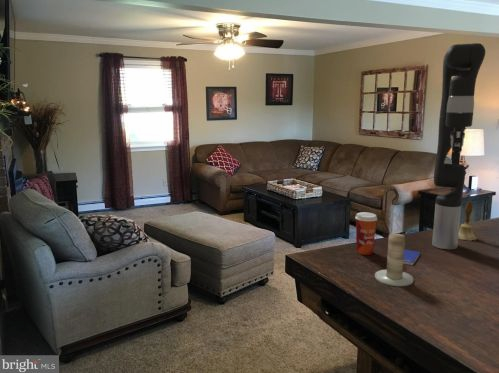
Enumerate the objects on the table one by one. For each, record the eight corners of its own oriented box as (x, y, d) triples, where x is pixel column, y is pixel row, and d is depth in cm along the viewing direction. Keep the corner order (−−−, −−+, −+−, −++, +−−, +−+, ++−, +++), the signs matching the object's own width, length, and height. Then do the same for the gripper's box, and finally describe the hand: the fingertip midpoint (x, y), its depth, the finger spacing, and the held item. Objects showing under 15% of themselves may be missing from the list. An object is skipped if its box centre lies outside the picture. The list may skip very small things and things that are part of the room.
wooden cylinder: (387, 272, 141) (389, 232, 138) (402, 275, 139) (405, 234, 136) (385, 278, 137) (387, 237, 134) (401, 280, 135) (404, 239, 132)
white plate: (377, 268, 146) (377, 267, 146) (414, 274, 141) (414, 272, 141) (372, 282, 135) (372, 280, 135) (411, 289, 130) (412, 287, 130)
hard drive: (412, 262, 149) (420, 252, 159) (389, 257, 153) (398, 248, 163) (412, 266, 149) (419, 256, 159) (389, 261, 153) (397, 251, 164)
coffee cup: (360, 256, 157) (362, 218, 154) (349, 249, 165) (351, 212, 162) (380, 254, 159) (382, 216, 156) (368, 247, 167) (370, 211, 164)
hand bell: (469, 234, 183) (472, 198, 179) (480, 240, 175) (484, 203, 171) (450, 234, 182) (454, 199, 179) (461, 241, 174) (465, 203, 171)
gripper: (446, 110, 138) (442, 158, 142) (446, 111, 126) (441, 165, 129) (472, 110, 135) (467, 160, 139) (474, 111, 123) (469, 166, 126)
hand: (454, 162), depth 134 cm, fingers open, 8 cm apart
